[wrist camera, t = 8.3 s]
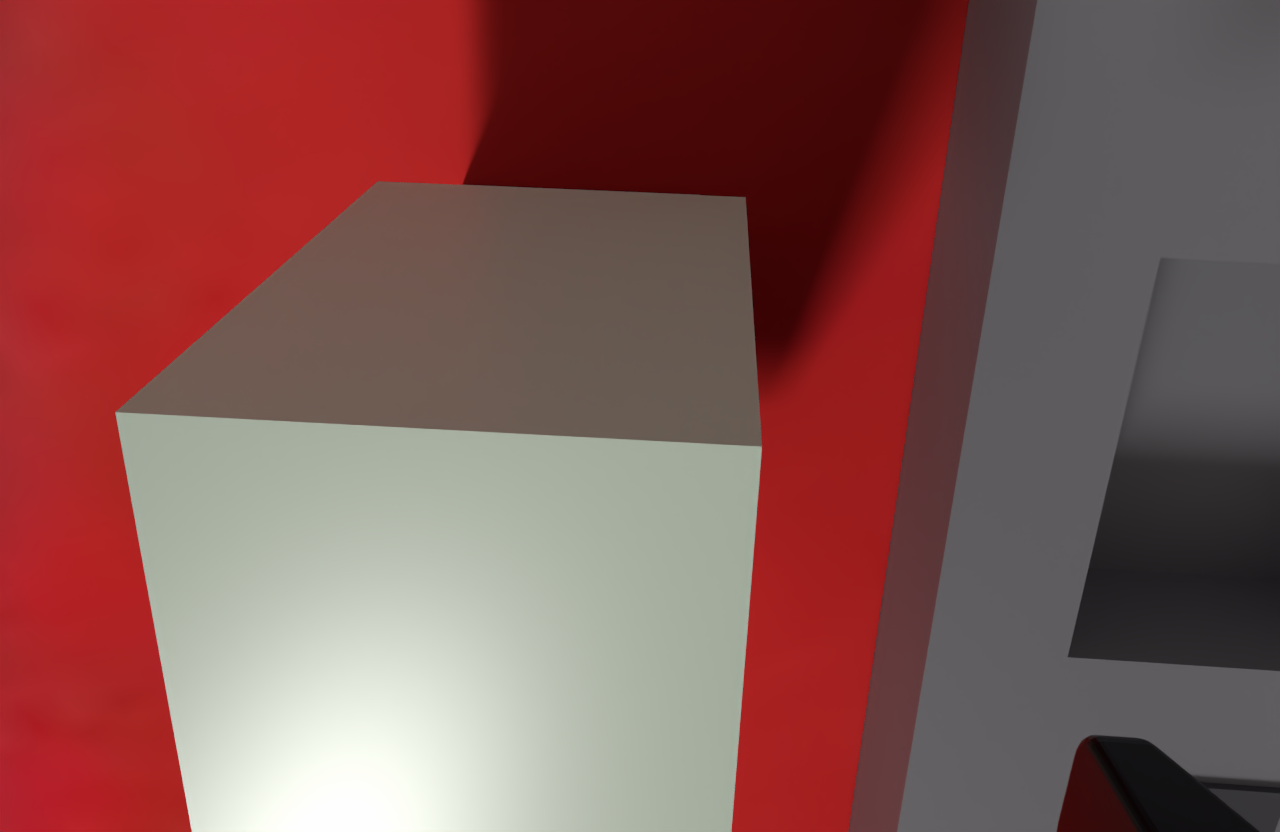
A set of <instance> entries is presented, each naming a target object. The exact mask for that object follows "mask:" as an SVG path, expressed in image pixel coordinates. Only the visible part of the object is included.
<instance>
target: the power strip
mask: <svg viewBox="0 0 1280 832" xmlns="http://www.w3.org/2000/svg"><path fill="white" fill-rule="evenodd" d="M1090 735H1103V736H1118V737H1133V738H1141V739H1145V740H1147V741H1149V742H1151V743H1152V744H1154V745H1155V746H1156V747H1158V748H1159V749H1160V750H1161V751H1163V752H1164V753H1165V754H1166V755H1168V756H1169V757H1170V758H1171V759H1172V760H1174V761H1175V762H1176V763H1177V764H1179V765H1180V766H1181V767H1182V768H1183V769H1185V770H1186V771H1187V772H1188V773H1189V774H1191V775H1192V776H1193V777H1194V778H1196V779H1197V780H1198V781H1199V782H1200V783H1202V784H1203V785H1204V786H1205V787H1207V788H1208V789H1209V790H1210V791H1211V792H1213V793H1214V794H1215V795H1216V796H1218V797H1219V798H1220V799H1221V800H1222V801H1224V802H1225V803H1226V804H1227V805H1229V806H1230V807H1231V808H1232V809H1233V810H1235V811H1236V812H1237V813H1238V814H1239V815H1241V816H1242V817H1243V818H1244V819H1246V820H1247V821H1248V822H1249V823H1250V824H1252V825H1253V826H1254V827H1255V828H1257V829H1258V830H1259V831H1260V832H1280V0H969V4H968V11H967V18H966V25H965V31H964V38H963V45H962V52H961V59H960V66H959V73H958V80H957V87H956V94H955V100H954V107H953V114H952V121H951V128H950V135H949V142H948V149H947V156H946V163H945V169H944V176H943V183H942V190H941V197H940V204H939V211H938V218H937V225H936V232H935V238H934V245H933V252H932V259H931V266H930V273H929V280H928V287H927V294H926V301H925V308H924V314H923V321H922V328H921V335H920V342H919V349H918V356H917V363H916V370H915V377H914V383H913V390H912V397H911V404H910V411H909V418H908V425H907V432H906V439H905V446H904V452H903V459H902V466H901V473H900V480H899V487H898V494H897V501H896V508H895V515H894V522H893V528H892V535H891V542H890V549H889V556H888V563H887V570H886V577H885V584H884V591H883V597H882V604H881V611H880V618H879V625H878V632H877V639H876V646H875V653H874V660H873V666H872V673H871V680H870V687H869V694H868V701H867V708H866V715H865V722H864V729H863V735H862V742H861V749H860V756H859V763H858V770H857V777H856V784H855V791H854V798H853V805H852V811H851V818H850V825H849V832H1057V826H1058V821H1059V817H1060V813H1061V809H1062V805H1063V800H1064V796H1065V792H1066V788H1067V784H1068V780H1069V776H1070V772H1071V768H1072V764H1073V760H1074V756H1075V753H1076V750H1077V748H1078V746H1079V744H1080V742H1081V741H1082V740H1083V739H1085V738H1086V737H1088V736H1090Z"/></svg>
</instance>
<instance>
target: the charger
mask: <svg viewBox="0 0 1280 832" xmlns="http://www.w3.org/2000/svg"><path fill="white" fill-rule="evenodd" d="M115 413H116V418H117V424H118V429H119V435H120V440H121V446H122V451H123V457H124V462H125V468H126V473H127V479H128V484H129V489H130V495H131V500H132V506H133V511H134V517H135V522H136V528H137V533H138V539H139V544H140V550H141V555H142V561H143V566H144V572H145V577H146V583H147V588H148V594H149V599H150V604H151V610H152V615H153V621H154V626H155V632H156V637H157V643H158V648H159V654H160V659H161V665H162V670H163V676H164V681H165V687H166V692H167V698H168V703H169V708H170V714H171V719H172V725H173V730H174V736H175V741H176V747H177V752H178V758H179V763H180V769H181V774H182V780H183V785H184V791H185V796H186V802H187V807H188V813H189V818H190V823H191V829H192V832H731V829H732V817H733V804H734V792H735V779H736V766H737V754H738V741H739V729H740V716H741V704H742V691H743V679H744V666H745V654H746V641H747V629H748V616H749V603H750V591H751V578H752V566H753V553H754V541H755V528H756V516H757V503H758V491H759V478H760V465H761V453H762V439H761V424H760V408H759V393H758V378H757V363H756V347H755V332H754V317H753V301H752V286H751V271H750V255H749V240H748V225H747V209H746V197H729V196H706V195H694V194H671V193H648V192H624V191H601V190H578V189H554V188H531V187H507V186H484V185H449V184H426V183H402V182H379V181H378V182H376V183H375V184H374V185H373V186H372V187H371V188H370V189H368V190H367V191H366V192H365V193H364V194H363V195H362V196H361V197H359V198H358V199H357V200H356V201H355V202H354V203H353V204H351V205H350V206H349V207H348V208H347V209H346V210H345V211H343V212H342V213H341V214H340V215H339V216H338V217H337V218H336V219H334V220H333V221H332V222H331V223H330V224H329V225H328V226H326V227H325V228H324V229H323V230H322V231H321V232H320V233H318V234H317V235H316V236H315V237H314V238H313V239H312V240H311V241H309V242H308V243H307V244H306V245H305V246H304V247H303V248H301V249H300V250H299V251H298V252H297V253H296V254H295V255H293V256H292V257H291V258H290V259H289V260H288V261H287V262H286V263H284V264H283V265H282V266H281V267H280V268H279V269H278V270H276V271H275V272H274V273H273V274H272V275H271V276H270V277H268V278H267V279H266V280H265V281H264V282H263V283H262V284H261V285H259V286H258V287H257V288H256V289H255V290H254V291H253V292H251V293H250V294H249V295H248V296H247V297H246V298H245V299H243V300H242V301H241V302H240V303H239V304H238V305H237V306H236V307H234V308H233V309H232V310H231V311H230V312H229V313H228V314H226V315H225V316H224V317H223V318H222V319H221V320H220V321H218V322H217V323H216V324H215V325H214V326H213V327H212V328H211V329H209V330H208V331H207V332H206V333H205V334H204V335H203V336H201V337H200V338H199V339H198V340H197V341H196V342H195V343H193V344H192V345H191V346H190V347H189V348H188V349H187V350H186V351H184V352H183V353H182V354H181V355H180V356H179V357H178V358H176V359H175V360H174V361H173V362H172V363H171V364H170V365H168V366H167V367H166V368H165V369H164V370H163V371H162V372H161V373H159V374H158V375H157V376H156V377H155V378H154V379H153V380H151V381H150V382H149V383H148V384H147V385H146V386H145V387H144V388H142V389H141V390H140V391H139V392H138V393H137V394H136V395H134V396H133V397H132V398H131V399H130V400H129V401H128V402H126V403H125V404H124V405H123V406H122V407H121V408H120V409H119V410H117V411H116V412H115Z"/></svg>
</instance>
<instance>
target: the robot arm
mask: <svg viewBox="0 0 1280 832" xmlns="http://www.w3.org/2000/svg"><path fill="white" fill-rule="evenodd" d="M1057 832H1260V831H1259V830H1258V829H1257V828H1255V827H1254V826H1253V825H1252V824H1250V823H1249V822H1248V821H1247V820H1246V819H1244V818H1243V817H1242V816H1241V815H1239V814H1238V813H1237V812H1236V811H1235V810H1233V809H1232V808H1231V807H1230V806H1229V805H1227V804H1226V803H1225V802H1224V801H1222V800H1221V799H1220V798H1219V797H1218V796H1216V795H1215V794H1214V793H1213V792H1211V791H1210V790H1209V789H1208V788H1207V787H1205V786H1204V785H1203V784H1202V783H1200V782H1199V781H1198V780H1197V779H1196V778H1194V777H1193V776H1192V775H1191V774H1189V773H1188V772H1187V771H1186V770H1185V769H1183V768H1182V767H1181V766H1180V765H1179V764H1177V763H1176V762H1175V761H1174V760H1172V759H1171V758H1170V757H1169V756H1168V755H1166V754H1165V753H1164V752H1163V751H1161V750H1160V749H1159V748H1158V747H1156V746H1155V745H1154V744H1152V743H1151V742H1149V741H1147V740H1145V739H1141V738H1133V737H1118V736H1103V735H1090V736H1088V737H1086V738H1085V739H1083V740H1082V741H1081V742H1080V744H1079V746H1078V748H1077V750H1076V753H1075V756H1074V760H1073V764H1072V768H1071V772H1070V776H1069V780H1068V784H1067V788H1066V792H1065V796H1064V800H1063V805H1062V809H1061V813H1060V817H1059V821H1058V826H1057Z"/></svg>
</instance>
